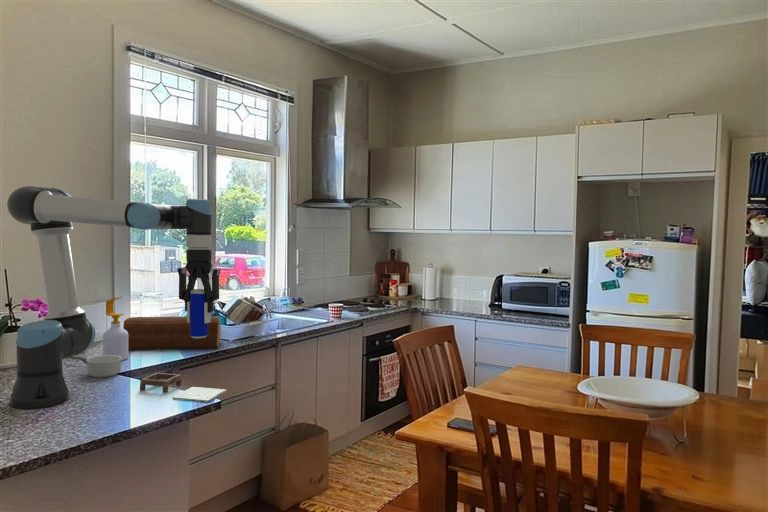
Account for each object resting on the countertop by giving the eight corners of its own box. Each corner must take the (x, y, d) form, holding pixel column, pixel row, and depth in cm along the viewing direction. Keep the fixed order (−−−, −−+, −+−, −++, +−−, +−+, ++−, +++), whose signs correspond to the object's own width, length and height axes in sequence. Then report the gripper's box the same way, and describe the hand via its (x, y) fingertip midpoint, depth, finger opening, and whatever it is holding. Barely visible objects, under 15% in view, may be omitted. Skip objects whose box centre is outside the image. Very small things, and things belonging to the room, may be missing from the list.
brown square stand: (166, 392, 182) (166, 381, 182) (139, 390, 183) (140, 379, 183) (181, 385, 191) (181, 374, 191) (156, 383, 193) (156, 372, 192)
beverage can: (201, 334, 184) (201, 288, 183) (210, 336, 180) (210, 289, 180) (187, 337, 180) (187, 289, 179) (196, 339, 176) (196, 291, 176)
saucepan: (80, 367, 211) (80, 352, 210) (128, 371, 207) (128, 356, 206) (57, 375, 199) (57, 359, 199) (107, 379, 195) (107, 363, 195)
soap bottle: (118, 362, 219) (118, 298, 218) (97, 360, 221) (97, 297, 220) (133, 357, 228) (133, 296, 227) (113, 355, 230) (113, 295, 229)
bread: (218, 349, 247) (218, 318, 247) (122, 351, 239) (122, 319, 238) (220, 342, 262) (221, 313, 262) (130, 343, 254) (130, 313, 254)
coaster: (208, 402, 173) (208, 400, 173) (172, 399, 176) (172, 397, 176) (226, 391, 185) (226, 389, 185) (192, 388, 187) (192, 386, 187)
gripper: (231, 248, 181) (231, 321, 182) (178, 247, 184) (178, 319, 185) (220, 249, 173) (220, 325, 174) (165, 248, 176) (166, 322, 178)
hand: (199, 322), depth 180 cm, fingers closed on beverage can, 5 cm apart
